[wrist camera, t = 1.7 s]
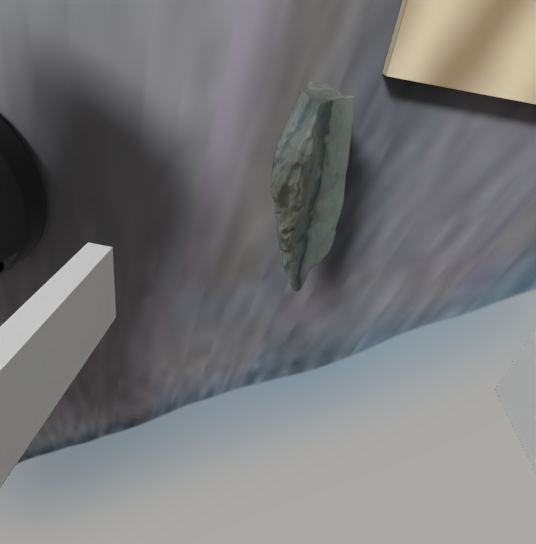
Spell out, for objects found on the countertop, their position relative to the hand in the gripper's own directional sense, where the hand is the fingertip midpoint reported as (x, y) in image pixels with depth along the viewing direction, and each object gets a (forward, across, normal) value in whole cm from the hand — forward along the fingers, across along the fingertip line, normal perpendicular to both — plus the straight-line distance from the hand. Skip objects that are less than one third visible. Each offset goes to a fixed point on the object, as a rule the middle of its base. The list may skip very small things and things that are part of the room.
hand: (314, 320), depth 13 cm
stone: (+17, 0, 0) cm, 17 cm away
